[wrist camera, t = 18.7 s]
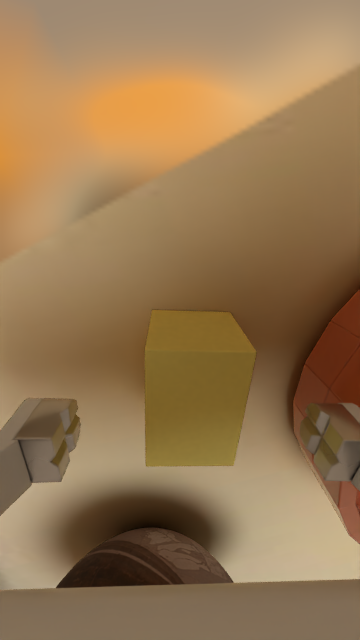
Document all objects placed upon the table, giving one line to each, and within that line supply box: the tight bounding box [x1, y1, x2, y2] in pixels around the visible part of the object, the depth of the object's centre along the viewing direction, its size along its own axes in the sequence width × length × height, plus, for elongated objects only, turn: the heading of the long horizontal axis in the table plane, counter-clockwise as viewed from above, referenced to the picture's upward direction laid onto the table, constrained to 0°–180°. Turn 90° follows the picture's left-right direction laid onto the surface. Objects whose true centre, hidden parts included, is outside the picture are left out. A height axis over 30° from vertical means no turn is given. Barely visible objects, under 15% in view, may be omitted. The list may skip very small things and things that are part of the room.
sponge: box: [145, 310, 257, 466], centre depth 11 cm, size 6×4×4 cm, turn 177°
